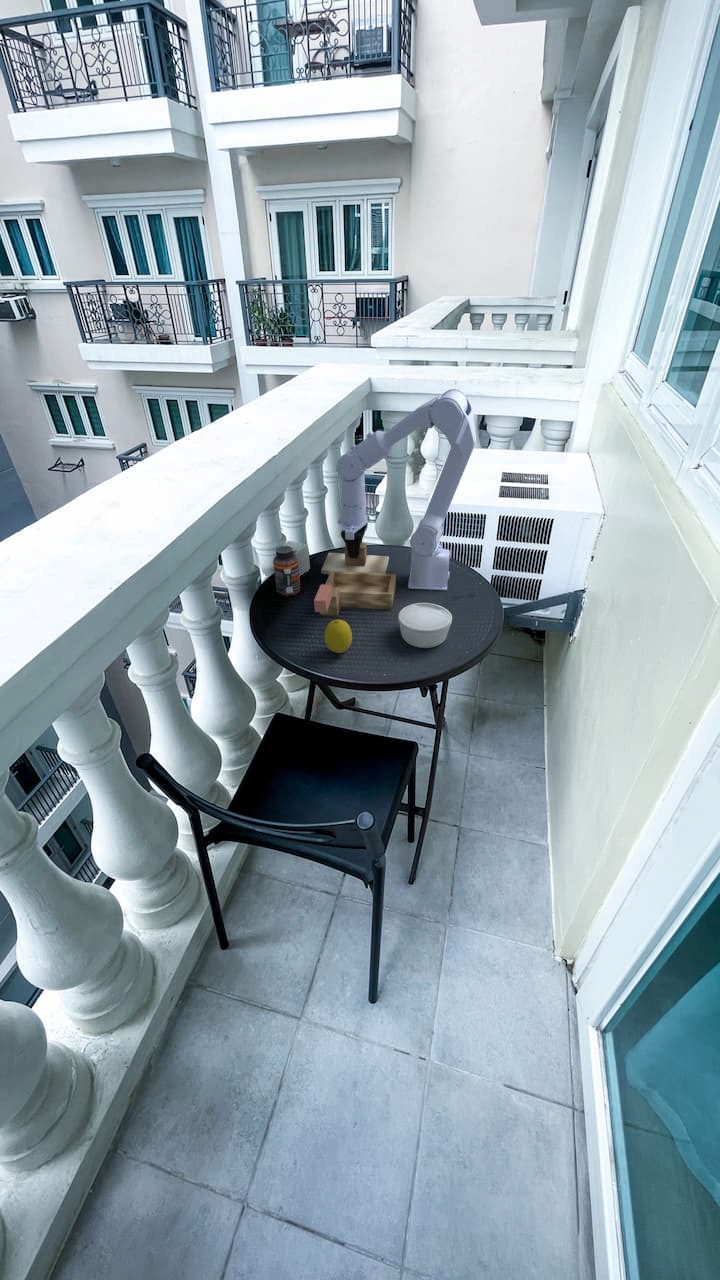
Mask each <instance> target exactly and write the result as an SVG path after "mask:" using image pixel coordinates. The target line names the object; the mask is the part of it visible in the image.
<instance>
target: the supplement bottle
mask: <svg viewBox="0 0 720 1280" xmlns="http://www.w3.org/2000/svg"><path fill="white" fill-rule="evenodd" d="M275 555H276V556H275V557H274V558H273V560H272V563H273V564H272V565H273V572H274V573H273V574H274V580H275V589H276V593H277V592H278V593H280V594H282V595H285V596H284V597H290V596H289V595H293V596H295V595H297V594H299V593H300V591H301V578H300V577H299V566H298V558H297V557H296V556H295V555H294V554H293V548H292V547H290V546H282V545H281V546H279V547H277V548H276V549H275ZM278 593H277V594H278ZM280 594H279V595H280ZM282 595H281V596H282Z"/></svg>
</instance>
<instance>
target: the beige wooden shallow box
mask: <svg viewBox="0 0 720 1280" xmlns="http://www.w3.org/2000/svg"><path fill="white" fill-rule="evenodd" d="M396 578H397V574H396V573H386V574H383V573H361V572H340V571H331V572H330V574H328V577H327V580H326V581H325V584H324V585H332V592H333V597H332V599H331V602H330V605H329V607H328V610H327V613H326V612H319V614H320V616H333V617H334V616H335V617H337V616H338V615H339V612H340V609H341V608H352V609H353V608H354V609H355V608H356V609H357V608H358V609H371V610H390V611H391V610H393V609H392V608H393V604H394V599H395V594H396V587H397V585H396V583H397V582H396V580H397V579H396Z"/></svg>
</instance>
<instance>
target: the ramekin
mask: <svg viewBox="0 0 720 1280" xmlns="http://www.w3.org/2000/svg"><path fill="white" fill-rule="evenodd" d="M397 622H398V623H399V629H400V635H401V637H402V639H403V640H404V641H405V642H406V643H407V644H409V645H410V646H411V647H415V648H420V649H431V648H436V647H437V646H439V645H441V644H442V643H444V642H445V640H447V637H448V634H449V630H450V627H451V625H452V622H453V616H452V613H451V612H450V611H449V610H448V609H446V608H445V607H443V606H441V605H438V604H436V603H431V602H430V603H429V602H417V603H411V604H409V605H407V606H405V607H403V608H402V609H400V611H399V612H398V616H397Z"/></svg>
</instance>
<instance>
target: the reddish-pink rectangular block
mask: <svg viewBox="0 0 720 1280" xmlns="http://www.w3.org/2000/svg"><path fill="white" fill-rule="evenodd" d="M332 597H333V592H332V585H325V584H324V583H323V584H320V585H319V588H318V590H317V593H316V595H315V597H314V599H313V605H314V612H315V613H320V612H326V613H327V610H328V607H329V605H330V602H331V599H332Z"/></svg>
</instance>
